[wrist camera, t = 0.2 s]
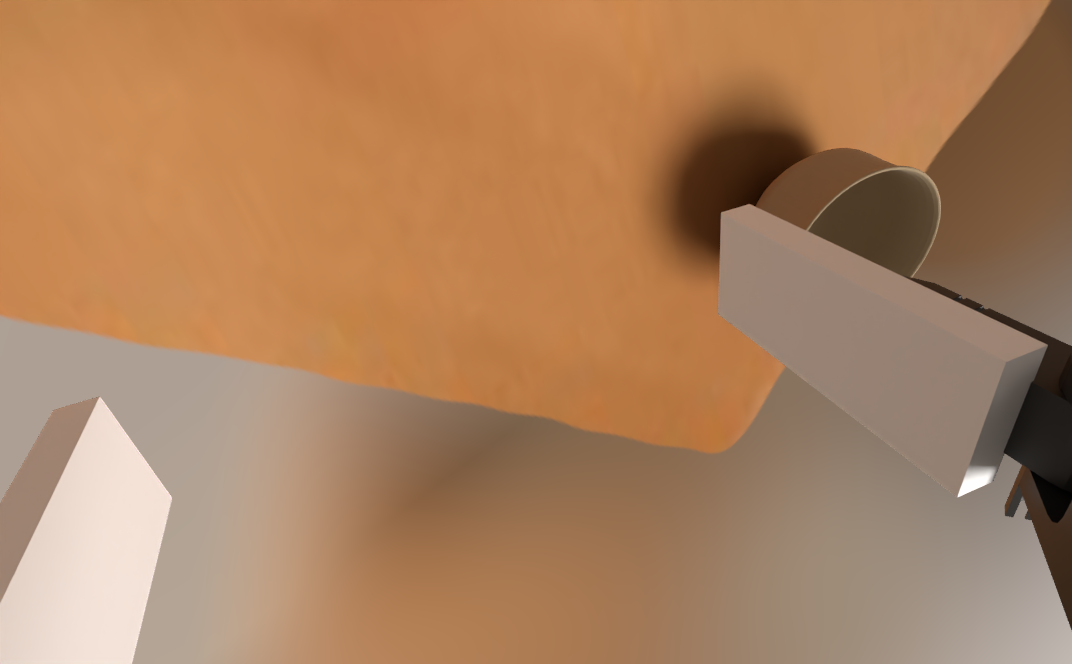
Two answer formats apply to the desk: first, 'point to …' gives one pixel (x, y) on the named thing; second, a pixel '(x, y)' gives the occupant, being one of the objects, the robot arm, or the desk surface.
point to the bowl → (860, 206)
